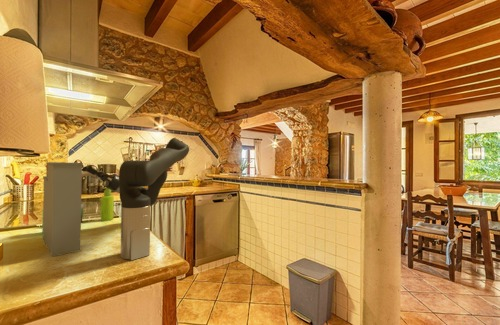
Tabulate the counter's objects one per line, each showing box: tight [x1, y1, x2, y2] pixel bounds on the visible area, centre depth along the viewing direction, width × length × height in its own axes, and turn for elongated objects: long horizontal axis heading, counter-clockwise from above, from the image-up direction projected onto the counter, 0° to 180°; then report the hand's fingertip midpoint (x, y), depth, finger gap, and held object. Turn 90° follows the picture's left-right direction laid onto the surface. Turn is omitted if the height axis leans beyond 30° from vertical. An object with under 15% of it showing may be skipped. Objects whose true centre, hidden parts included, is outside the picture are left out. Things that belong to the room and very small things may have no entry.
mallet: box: [45, 161, 103, 177], centre depth 100 cm, size 7×19×6 cm, turn 137°
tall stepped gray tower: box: [42, 161, 84, 258], centre depth 89 cm, size 26×8×32 cm, turn 47°
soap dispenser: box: [100, 184, 115, 222], centre depth 127 cm, size 6×7×20 cm
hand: (84, 168), depth 102 cm, fingers open, 8 cm apart
